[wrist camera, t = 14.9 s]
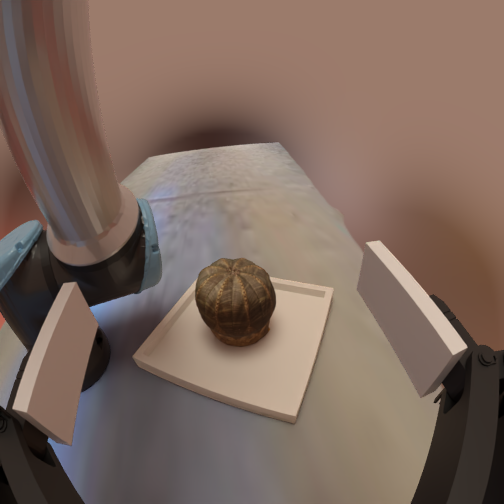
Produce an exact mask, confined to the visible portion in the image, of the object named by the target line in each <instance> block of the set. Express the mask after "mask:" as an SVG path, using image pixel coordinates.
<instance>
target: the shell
mask: <svg viewBox="0 0 504 504" xmlns="http://www.w3.org/2000/svg"><path fill="white" fill-rule="evenodd" d="M195 300H196V306H197V307H198V310H199V313H200V315H201V318H202V319H203V321H204V322H205V324H206V325H207V326H208V327H209V328H210V329H211V331H212V333H213V334H214V335H215V336H216V338H217V339H218V340H219V341H221V342H223V343H224V344H226V345H230V346H237V347H244V346H249V345H252V344H255V343H257V342H258V341H259V340H260V339H262V338H263V337H265V336H266V334H267V333H268V332H269V330H270V328H269V323H270V318H271V316H272V314H273V312H274V310H275V307H276V293H275V290H274V287H273V285H272V282H271V280H270V277H269V275H268V273H267V272H266V271H265V270H264V269H263V268H261V267H259V266H257V265H255V264H254V263H253V262H251V261H249V260H247V259H245V258H239V259H234V260H232V259H225V258H221V259H219V260H217V261H215V262H214V263H212V264H211V265H210V266H208V267H206V268H204V269H203V270H202V271H201V272H200V273H199V276H198V279H197V282H196V288H195Z"/></svg>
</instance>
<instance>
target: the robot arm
mask: <svg viewBox="0 0 504 504" xmlns="http://www.w3.org/2000/svg"><path fill="white" fill-rule="evenodd" d="M88 6H89V5H88V0H0V128H1V131H2V133H3V136H4V138H5V141H6V143H7V145H8V147H9V150H10V152H11V154H12V157H13V159H14V161H15V163H16V165H17V167H18V169H19V171H20V173H21V175H22V177H23V179H24V181H25V183H26V185H27V187H28V189H29V191H30V192H31V194H32V196H33V198H34V200H35V201H36V203H37V205H38V207H39V208H40V210H41V212H42V213H43V215H44V217H45V218H46V220H47V222H48V226H47V230H43V226H42V224H40V222H39V221H37V220H33V221H29V222H26V223H25V224H23V225H21V226H19V227H18V228H16V229H14V230H13V231H12V232H10V233H9V234H8V235H7V236H5V237H4V238H3V239H2V240H1V241H0V312H1V313H2V315H3V317H4V318H5V320H6V321H7V323H8V324H9V326H10V327H11V328H12V330H13V331H14V333H15V334H16V335H17V337H18V338H19V339H20V341H21V342H22V343H23V345H24V346H25V347H26V349H27V352H28V353H27V354H26V356H25V357H24V358H23V360H22V363H21V366H20V368H19V371H18V374H17V377H16V378H17V379H16V380H15V382H14V385H13V388H12V391H11V395H10V398H9V401H8V404H7V408H6V410H5V409H4V408H3V407H1V406H0V504H85V503H84V502H83V500H82V499H81V497H80V496H79V494H78V493H77V491H76V490H75V488H74V486H73V485H72V483H71V481H70V480H69V478H68V476H67V475H66V473H65V471H64V469H63V467H62V466H61V464H60V462H59V460H58V458H57V456H56V454H55V452H54V450H53V448H52V446H51V445H50V444H49V443H48V442H47V441H48V437H49V438H51V439H52V440H54V441H55V442H56V443H60V444H65V445H70V446H72V438H73V432H74V425H75V419H76V414H77V408H78V403H79V398H80V393H81V391H83V390H85V389H87V388H88V387H90V386H91V385H92V384H94V383H95V382H96V381H97V380H98V379H99V377H100V376H101V375H102V374H103V372H104V370H105V369H106V367H107V364H108V361H109V358H110V345H109V341H108V339H107V338H106V336H105V334H104V332H103V331H102V329H101V328H100V327H99V326H98V325H99V324H98V323H97V321H96V319H95V317H94V315H93V314H92V312H91V310H90V308H89V307H91V306H95V305H98V304H101V303H104V302H107V301H111V300H114V299H117V298H120V297H124V296H127V295H130V294H133V293H134V294H139V293H141V292H142V291H143V290H145V289H148V288H150V287H153V286H155V285H157V284H158V283H159V281H160V279H161V277H162V261H161V254H160V249H159V247H158V236H157V231H156V226H155V221H154V217H153V214H152V210H151V207H150V205H149V203H148V201H147V200H145V199H138V198H137V199H136V198H135V196H134V195H133V193H132V192H131V191H130V190H129V189H128V188H127V187H125V186H123V185H121V184H119V183H118V182H117V178H116V174H115V171H114V167H113V163H112V159H111V155H110V151H109V147H108V143H107V138H106V133H105V129H104V124H103V119H102V115H101V109H100V104H99V98H98V92H97V86H96V80H95V73H94V66H93V57H92V48H91V38H90V26H89V7H88ZM357 291H358V292H359V294H360V295H361V297H362V298H363V300H364V302H365V303H366V305H367V306H368V308H369V310H370V311H371V313H372V314H373V316H374V318H375V319H376V321H377V322H378V324H379V326H380V327H381V329H382V331H383V332H384V334H385V336H386V337H387V339H388V341H389V342H390V344H391V346H392V347H393V349H394V351H395V353H396V354H397V356H398V358H399V360H400V361H401V363H402V365H403V367H404V368H405V370H406V372H407V374H408V376H409V377H410V379H411V381H412V383H413V385H414V387H415V388H416V390H417V392H418V394H419V396H420V398H422V397H424V396H426V395H428V394H430V393H432V392H434V391H436V389H437V388H438V387H439V386H440V384H441V383H442V384H443V385H444V387H445V388H444V389H443V390H442V391H441V392H440V394H439V395H438V396H437V397H436V398H435V401H434V403H437V401H438V400H439V399H440V398H441V401H440V403H439V404H440V407H439V412H438V417H437V421H436V426H435V430H434V434H433V438H432V442H431V446H430V450H429V453H428V456H427V460H426V463H425V466H424V469H423V472H422V475H421V478H420V481H419V484H418V486H417V489H416V492H415V494H414V497H413V499H412V502H411V504H504V350H501V351H493V350H492V349H491V348H490V347H488V346H486V345H479V346H478V345H477V344H476V343H475V341H474V340H473V339H472V337H471V336H470V335H469V333H468V332H467V331H466V329H465V328H464V327H463V325H462V324H461V323H460V322H459V320H458V319H456V316H455V315H454V314H453V313H452V312H451V311H450V309H449V308H448V306H447V305H446V304H445V303H444V302H443V301H442V300H441V299H439V298H438V297H436V296H435V295H430V296H428V295H427V293H425V291H424V290H423V289H422V287H421V286H420V285H419V284H418V283H417V282H416V280H415V279H414V278H413V277H412V276H411V274H410V273H409V272H408V271H407V270H406V269H405V268H404V267H403V266H402V264H401V263H400V262H399V261H398V260H397V259H396V258H395V257H394V256H393V255H392V254H391V252H390V251H389V250H388V249H387V248H386V247H385V246H384V245H383V244H382V243H381V242H380V241H373V242H366V244H365V250H364V255H363V261H362V266H361V271H360V276H359V281H358V285H357Z"/></svg>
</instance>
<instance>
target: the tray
mask: <svg viewBox="0 0 504 504" xmlns="http://www.w3.org/2000/svg"><path fill="white" fill-rule="evenodd" d="M197 279H198V278H197ZM197 279H196V281H195V282H194V283H193V284H192V285H191V286H190V288H189V289H188V290H187V291H186V292H185V294H184V295H183V296H182V297H181V298H180V299H179V301H178V302H177V303H176V304H175V305H174V307H173V308H172V309H171V310H170V311H169V313H168V314H167V315H166V316H165V317H164V319H163V320H162V321H161V322H160V323H159V325H158V326H157V327H156V328H155V329H154V331H153V332H152V333H151V334H150V335H149V337H148V338H147V339H146V340H145V342H144V343H143V344H142V345H141V346H140V348H139V349H138V350H137V351H136V353H135V354H134V355H133V356H132V357H133V359H134V361H135V362H136V364H137V366H138V367H140V368H142V369H144V370H146V371H148V372H150V373H152V374H154V375H157V376H159V377H161V378H163V379H165V380H168V381H170V382H172V383H174V384H177V385H179V386H181V387H184V388H186V389H189V390H191V391H193V392H196V393H198V394H201V395H204V396H206V397H209V398H212V399H214V400H217V401H220V402H223V403H225V404H228V405H231V406H234V407H237V408H240V409H243V410H246V411H250V412H253V413H256V414H260V415H263V416H266V417H270V418H274V419H277V420H281V421H285V422H289V423H293V424H295V421H296V419H297V416H298V413H299V410H300V407H301V404H302V401H303V399H304V396H305V393H306V389H307V386H308V383H309V380H310V377H311V374H312V371H313V367H314V364H315V361H316V357H317V354H318V351H319V347H320V344H321V340H322V336H323V333H324V329H325V325H326V321H327V318H328V314H329V310H330V306H331V302H332V297H333V290H334V288H330V287H324V286H318V285H312V284H306V283H301V282H295V281H289V280H284V279H278V278H272V277H270V280H271V282H272V285H273V287H274V290H275V293H276V307H275V310H274V312H273V314H272V316H271V318H270V323H269V328H270V330H269V332H268V333H267V334H266V336H265V337H263V338H262V339H260V340H259V341H258V342H257V343H255V344H252V345H249V346H244V347H237V346H230V345H226V344H224V343H223V342H221V341H219V340H218V339H217V338H216V336H215V335H214V334H213V333H212V331H211V329H210V328H209V327H208V326H207V325H206V324H205V322H204V321H203V319H202V318H201V315H200V313H199V310H198V307H197V306H196V300H195V288H196V282H197Z"/></svg>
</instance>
